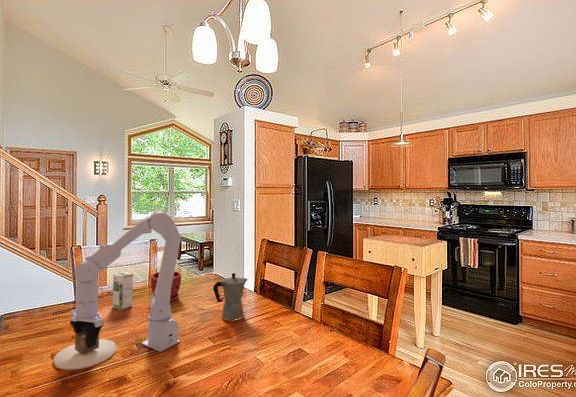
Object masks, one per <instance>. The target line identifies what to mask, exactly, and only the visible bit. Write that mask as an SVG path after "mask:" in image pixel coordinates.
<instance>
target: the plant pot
mask: <svg viewBox="0 0 576 397" xmlns="http://www.w3.org/2000/svg"><path fill="white" fill-rule="evenodd" d="M159 272H160V271H158V272H155V273H153V274H151V276H150V288H151V291H152V294H153V295H154V293H155V289H156V286H157V282H158V277H159ZM181 284H182V273H181V272H179V271H176V270H175V271H174V276H173V281H172V286H171V295H170V303H171V302H174V301H176V300H177V299H178V298H179V297H180V295H179V293H178V292H179V290H180V289H181Z"/></svg>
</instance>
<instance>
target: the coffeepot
mask: <svg viewBox="0 0 576 397" xmlns="http://www.w3.org/2000/svg"><path fill="white" fill-rule="evenodd" d="M248 280H249V279H248V278H244V277H236V273H234V272H233V273H231V277H227V278H224V279H222V280H221V281H217V282H215V283H214V285H213V287H212V288H213V292H214V295H215V298H216V302H217V303H222V302H223V306H222V310H221V311H222V312H221V319H222V320H223V319H227V320H235V319H239V318H241V317H242V316H244V315H245V314H244V309H243V302H242V297H243V295H244V289H245V284H246V282H247V281H248ZM219 287H222V288H223V297H224V301H223V299H222V298H221V299H220V297H221V296H220V293H219V289H218V288H219ZM244 317H245V316H244Z"/></svg>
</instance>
